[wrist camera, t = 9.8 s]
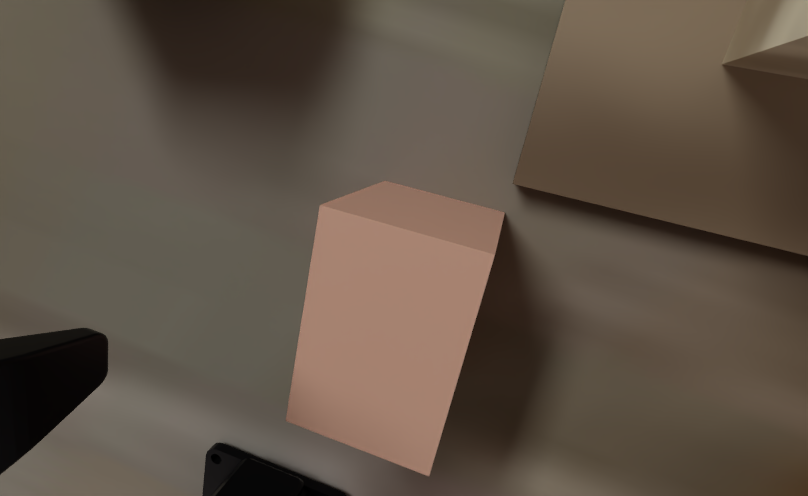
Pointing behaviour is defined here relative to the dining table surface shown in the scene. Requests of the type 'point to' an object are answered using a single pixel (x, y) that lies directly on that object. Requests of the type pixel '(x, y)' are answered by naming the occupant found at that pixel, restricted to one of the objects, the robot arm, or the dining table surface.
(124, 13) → the dining table surface
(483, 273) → the terracotta brick
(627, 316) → the dining table surface
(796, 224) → the walnut board
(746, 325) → the dining table surface
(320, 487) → the robot arm
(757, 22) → the birch brick
